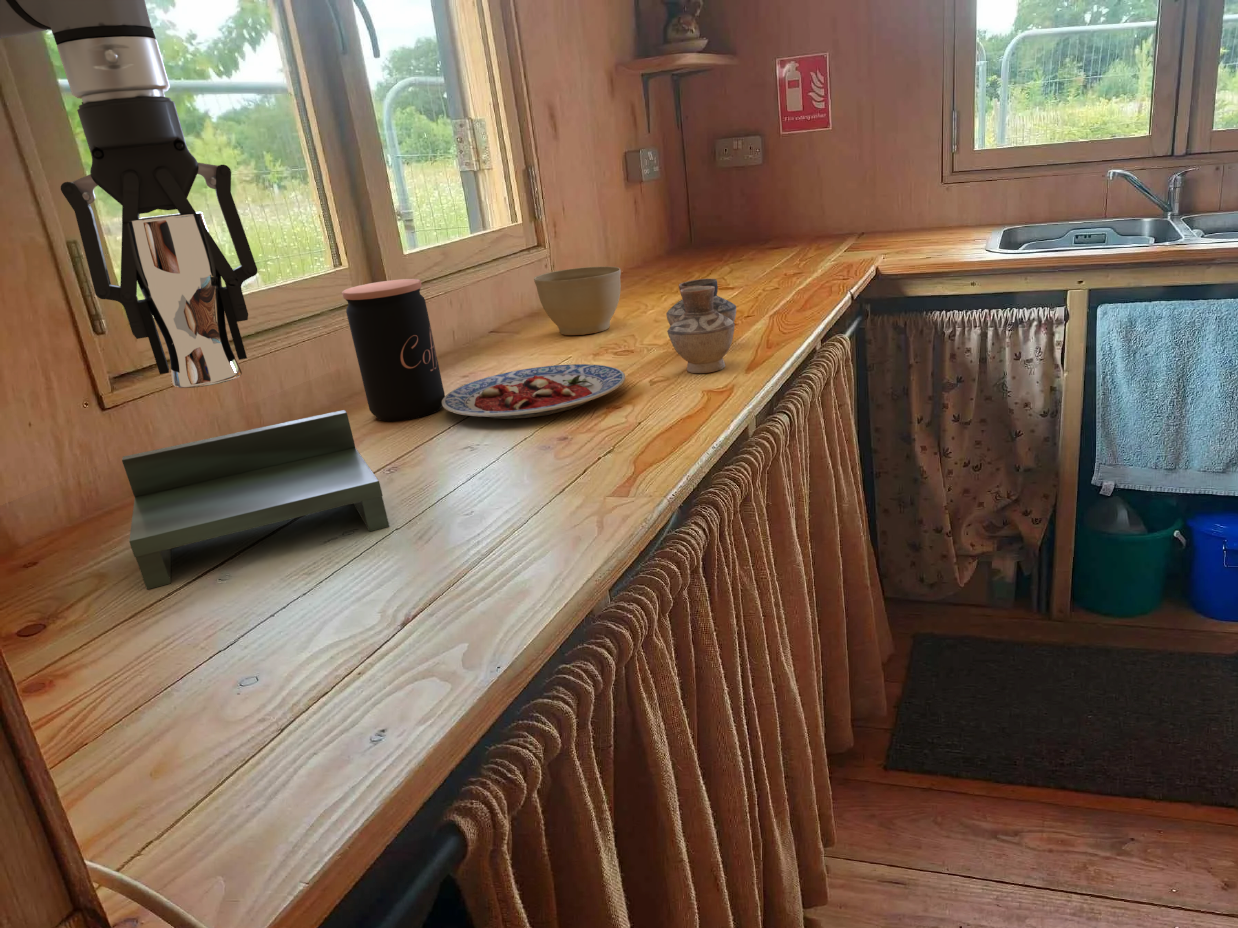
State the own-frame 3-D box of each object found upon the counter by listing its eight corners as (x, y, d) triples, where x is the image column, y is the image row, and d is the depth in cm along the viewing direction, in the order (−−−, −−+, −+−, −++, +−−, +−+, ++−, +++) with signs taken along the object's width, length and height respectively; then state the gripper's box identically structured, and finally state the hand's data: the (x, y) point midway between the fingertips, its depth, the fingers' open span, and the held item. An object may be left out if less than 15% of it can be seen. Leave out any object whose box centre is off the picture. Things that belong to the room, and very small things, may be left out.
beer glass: (205, 372, 96) (161, 215, 91) (263, 370, 94) (221, 209, 89) (151, 390, 90) (100, 223, 85) (211, 389, 88) (163, 217, 83)
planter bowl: (592, 341, 174) (583, 280, 170) (525, 339, 182) (515, 281, 178) (644, 322, 186) (637, 264, 182) (579, 321, 194) (571, 266, 190)
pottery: (668, 381, 140) (658, 298, 136) (671, 345, 163) (662, 273, 159) (746, 373, 140) (739, 289, 135) (738, 338, 163) (731, 265, 158)
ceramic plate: (465, 443, 122) (460, 420, 120) (430, 402, 144) (426, 382, 143) (654, 401, 130) (652, 380, 129) (593, 369, 153) (591, 350, 151)
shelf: (150, 537, 101) (122, 456, 98) (363, 486, 110) (344, 409, 107) (146, 591, 88) (114, 499, 85) (390, 528, 96) (369, 441, 93)
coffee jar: (421, 422, 134) (392, 290, 127) (356, 423, 137) (325, 295, 130) (460, 400, 143) (435, 276, 136) (399, 401, 146) (371, 281, 140)
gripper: (-13, 106, 76) (87, 392, 85) (245, 84, 83) (313, 350, 92) (1, 112, 82) (93, 377, 91) (240, 92, 90) (304, 339, 98)
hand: (203, 363), depth 91 cm, fingers closed on beer glass, 6 cm apart
